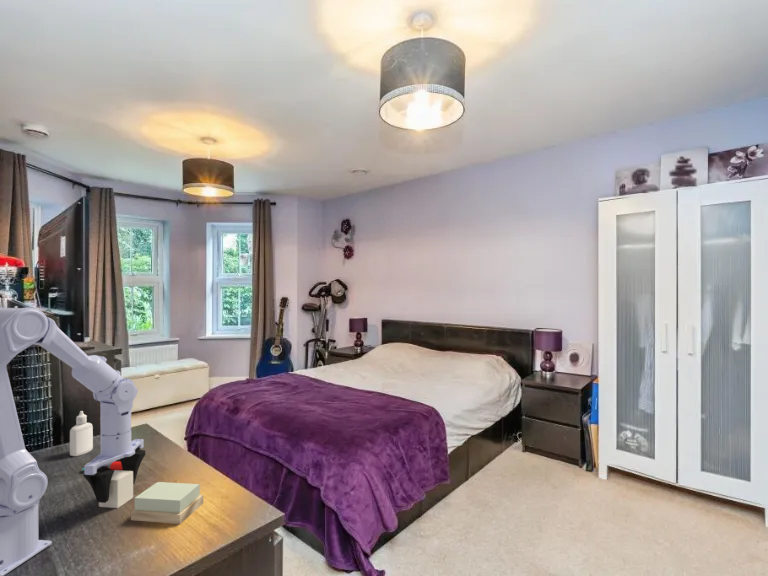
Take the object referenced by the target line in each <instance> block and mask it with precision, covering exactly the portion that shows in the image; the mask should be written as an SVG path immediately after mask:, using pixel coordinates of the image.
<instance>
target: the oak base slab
mask: <svg viewBox="0 0 768 576" xmlns="http://www.w3.org/2000/svg"><path fill="white" fill-rule="evenodd" d="M203 504H204V494H200V496H199V497H197V498H196V499H195V500H194V501H193V502H192V503H191V504H190V505H188V506H187V507H186V508H185V509H184V510H183V511H182V512H180V513H174V512H158V511H142V510H135V508H133V509H132V510H131V511H130V521H140V522H149V523H161V524H171V525H172V524H173V525H181V524H183V522H184V521H186V520H187V519H188V518H189V517H190V516H191V515H192V514H193V513H194V512H195V511H197V510H198V509H199V508H200V507H201V506H202V505H203Z"/></svg>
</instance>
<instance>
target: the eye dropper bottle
mask: <svg viewBox="0 0 768 576" xmlns="http://www.w3.org/2000/svg"><path fill="white" fill-rule="evenodd" d="M87 417H88V415H86V414H84V411H83V410H80V411H79V414H78V415H77V416H76V417H75V422H76V424H75V425H74V426H72V427H71V428H70V430H69V456H72V457H78V456H82V455H85V454H87V453H90V452H91V451H92V450H93V448H94V439H93V438H94V434H93V433H94V431H93V429H94V427H93V424H92V423H91V422H87V420H88V419H87Z"/></svg>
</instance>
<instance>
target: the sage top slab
mask: <svg viewBox="0 0 768 576" xmlns="http://www.w3.org/2000/svg"><path fill="white" fill-rule="evenodd" d="M200 488H201V487H200V483H182V482H164V481H161V482H160V481H157V482H156V483H154V484H152V485H151V486H150V487H148V488H147V489H145V490H144V491H143V492H141V493H140V494H138V495H136V496H135V497H134V509H135V510H142V511H158V512H174V513H180V512H182V511H183V510H184V509H185V508H186V507H187V506H188V505H190V504H191V503H192V502H193V501H194V500H195V499H196V498H197V497H199V496H200V495H201V493H200V491H201V489H200Z"/></svg>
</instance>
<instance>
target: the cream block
mask: <svg viewBox="0 0 768 576" xmlns="http://www.w3.org/2000/svg"><path fill="white" fill-rule="evenodd" d="M133 498H134V484H133V471H122V470H114V473H113V475H112V478H111V482H110V490H109V499H108V501H107V502H106V503H101V502H98V507H100V508H109V509H110V508H111V509H120V507H121V506H123V505H124V504H126V503H127V502H128V501H130V500H131V499H133Z"/></svg>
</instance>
